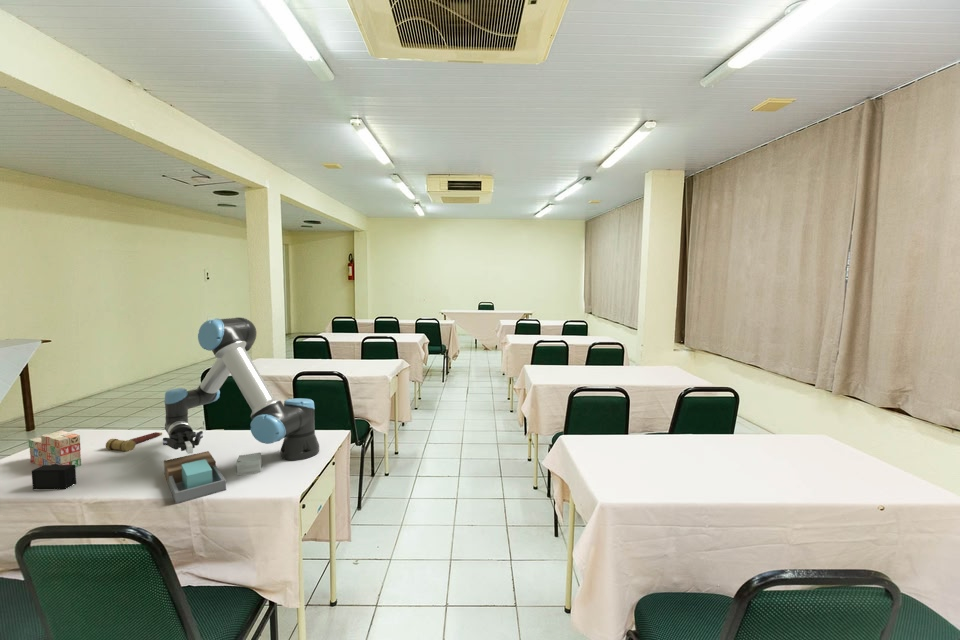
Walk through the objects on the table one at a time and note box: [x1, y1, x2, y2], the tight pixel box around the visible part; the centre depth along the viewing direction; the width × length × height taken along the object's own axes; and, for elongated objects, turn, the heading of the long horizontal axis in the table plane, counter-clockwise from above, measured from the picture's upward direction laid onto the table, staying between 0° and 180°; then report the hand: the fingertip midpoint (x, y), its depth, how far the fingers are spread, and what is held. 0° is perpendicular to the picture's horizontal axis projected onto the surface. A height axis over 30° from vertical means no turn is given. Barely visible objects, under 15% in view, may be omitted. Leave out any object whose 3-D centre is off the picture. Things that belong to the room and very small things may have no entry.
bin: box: [168, 464, 227, 505], centre depth 142 cm, size 16×14×4 cm
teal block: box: [182, 459, 213, 490], centre depth 142 cm, size 7×7×12 cm
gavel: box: [105, 431, 163, 453], centre depth 183 cm, size 21×5×10 cm
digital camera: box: [31, 464, 77, 490], centre depth 142 cm, size 10×5×7 cm, turn 94°
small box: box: [236, 452, 263, 476], centre depth 157 cm, size 8×8×5 cm
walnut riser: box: [163, 450, 217, 486], centre depth 153 cm, size 13×14×5 cm
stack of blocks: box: [28, 430, 82, 468], centre depth 159 cm, size 21×6×12 cm, turn 69°
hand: (190, 449), depth 148 cm, fingers closed
